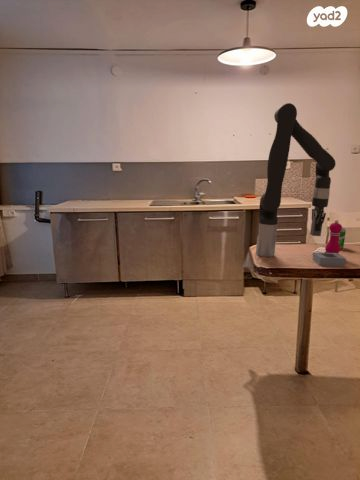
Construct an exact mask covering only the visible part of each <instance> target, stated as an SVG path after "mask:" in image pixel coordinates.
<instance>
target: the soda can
mask: <svg viewBox="0 0 360 480" xmlns="http://www.w3.org/2000/svg"><path fill="white" fill-rule="evenodd" d="M346 232H347V229H346V228H345V227H343V226H342V230H341V231H340V236H339V238H338V242H339V245H340V250H341V249H343V248H345V247H344V246H345V239H346Z"/></svg>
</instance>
